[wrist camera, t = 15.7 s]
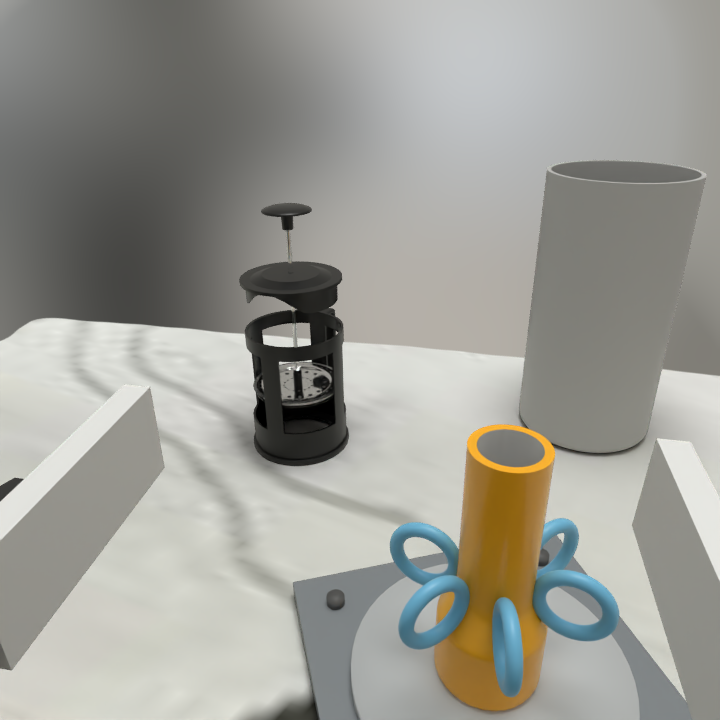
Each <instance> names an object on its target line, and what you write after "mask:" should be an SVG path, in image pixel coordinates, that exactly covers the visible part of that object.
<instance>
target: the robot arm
mask: <svg viewBox="0 0 720 720" xmlns="http://www.w3.org/2000/svg"><path fill="white" fill-rule="evenodd" d="M164 468H165V467H164V461H163V456H162V450H161V445H160V439H159V434H158V428H157V423H156V417H155V412H154V406H153V400H152V395H151V389H150V387H145V386H135V385H126V384H124V385H123V386H122V387H121V388H120V389H119V390H118V391H117V392H116V393H115V394H114V395H113V396H112V397H110V398H109V399H108V400H107V401H106V402H105V403H104V404H103V405H102V406H101V407H100V408H99V409H98V410H97V411H96V412H95V413H94V414H92V415H91V416H90V417H89V418H88V419H87V420H86V421H85V422H84V423H83V424H82V425H81V426H80V427H79V428H78V429H77V430H76V431H74V432H73V433H72V434H71V435H70V436H69V437H68V438H67V439H66V440H65V441H64V442H63V443H62V444H61V445H60V446H59V447H58V448H57V449H55V450H54V451H53V452H52V453H51V454H50V455H49V456H48V457H47V458H46V459H45V460H44V461H43V462H42V463H41V464H40V465H39V466H37V467H36V468H35V469H34V470H33V471H32V472H31V473H30V474H29V475H28V476H27V477H26V478H25V479H20V478H14V479H12V480H10V481H8V482H6V483H5V484H3V485H1V486H0V668H1V669H7V670H12V669H13V668H14V667H15V665H16V664H17V663H18V661H19V660H20V659H21V657H22V656H23V655H24V653H25V652H26V651H27V649H28V648H29V647H30V645H31V644H32V643H33V641H34V640H35V639H36V637H37V636H38V635H39V633H40V632H41V631H42V630H43V628H44V627H45V626H46V624H47V623H48V622H49V620H50V619H51V618H52V616H53V615H54V614H55V612H56V611H57V610H58V608H59V607H60V606H61V604H62V603H63V602H64V600H65V599H66V598H67V596H68V595H69V594H70V592H71V591H72V590H73V588H74V587H75V586H76V584H77V583H78V582H79V580H80V579H81V578H82V576H83V575H84V574H85V572H86V571H87V570H88V569H89V567H90V566H91V565H92V563H93V562H94V561H95V559H96V558H97V557H98V555H99V554H100V553H101V551H102V550H103V549H104V547H105V546H106V545H107V543H108V542H109V541H110V539H111V538H112V537H113V535H114V534H115V533H116V531H117V530H118V529H119V527H120V526H121V525H122V523H123V522H124V521H125V519H126V518H127V517H128V515H129V514H130V513H131V511H132V510H133V509H134V508H135V506H136V505H137V504H138V502H139V501H140V500H141V498H142V497H143V496H144V494H145V493H146V492H147V490H148V489H149V488H150V486H151V485H152V484H153V482H154V481H155V480H156V478H157V477H158V476H159V474H160V473H161V472H162V470H163V469H164ZM632 527H633V530H634V533H635V536H636V540H637V543H638V546H639V549H640V552H641V556H642V559H643V562H644V565H645V569H646V572H647V575H648V578H649V582H650V585H651V588H652V591H653V594H654V598H655V601H656V604H657V607H658V611H659V614H660V617H661V620H662V623H663V627H664V630H665V633H666V636H667V640H668V643H669V646H670V649H671V652H672V656H673V659H674V662H675V665H676V669H677V672H678V675H679V678H680V682H681V685H682V688H683V691H684V694H685V698H686V701H687V704H688V707H689V711H690V714H691V717H692V720H720V497H719V495H718V493H717V491H716V489H715V488H714V486H713V484H712V482H711V480H710V478H709V476H708V474H707V472H706V470H705V468H704V467H703V465H702V463H701V461H700V459H699V457H698V455H697V453H696V451H695V449H694V447H693V445H692V444H691V442H687V441H678V440H668V439H658V438H657V439H656V442H655V446H654V449H653V453H652V456H651V460H650V463H649V467H648V471H647V474H646V478H645V481H644V485H643V488H642V492H641V495H640V499H639V502H638V506H637V509H636V513H635V517H634V520H633V524H632Z"/></svg>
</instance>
